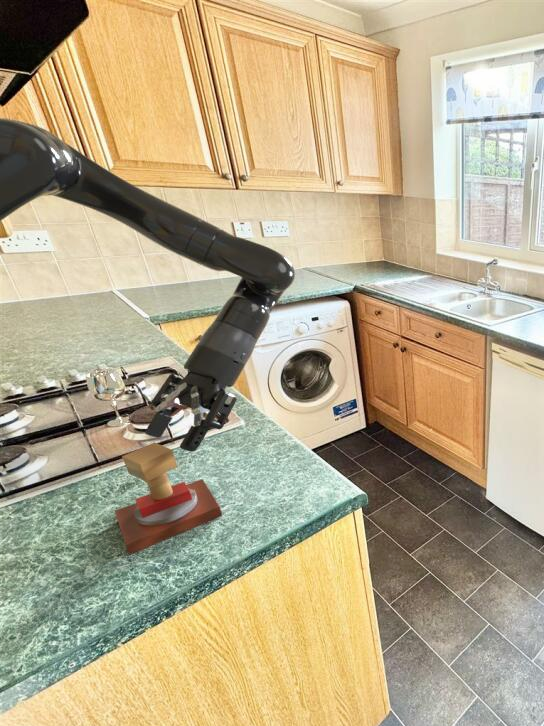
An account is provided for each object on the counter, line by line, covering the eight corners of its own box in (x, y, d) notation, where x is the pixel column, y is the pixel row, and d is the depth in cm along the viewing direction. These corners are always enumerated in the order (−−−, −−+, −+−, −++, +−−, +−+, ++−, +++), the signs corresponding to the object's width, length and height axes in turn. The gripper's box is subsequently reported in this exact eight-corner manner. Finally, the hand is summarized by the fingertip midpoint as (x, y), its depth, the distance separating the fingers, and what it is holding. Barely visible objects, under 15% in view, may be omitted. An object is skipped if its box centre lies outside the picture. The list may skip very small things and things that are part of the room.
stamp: (141, 534, 63) (116, 475, 59) (131, 507, 68) (108, 451, 63) (203, 508, 69) (185, 454, 64) (190, 486, 74) (173, 433, 69)
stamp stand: (129, 554, 62) (125, 545, 61) (118, 519, 68) (114, 510, 67) (222, 515, 70) (219, 506, 69) (205, 487, 76) (202, 478, 75)
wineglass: (126, 427, 92) (107, 378, 87) (96, 428, 91) (75, 378, 86) (142, 414, 97) (125, 367, 92) (114, 415, 96) (95, 367, 91)
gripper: (174, 335, 70) (116, 425, 65) (233, 351, 66) (175, 449, 61) (213, 355, 77) (163, 437, 72) (269, 371, 72) (219, 460, 67)
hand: (169, 443), depth 66 cm, fingers open, 8 cm apart
